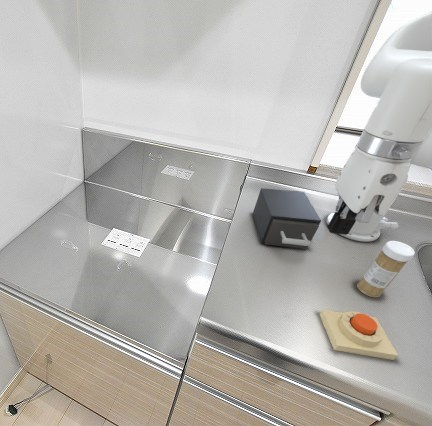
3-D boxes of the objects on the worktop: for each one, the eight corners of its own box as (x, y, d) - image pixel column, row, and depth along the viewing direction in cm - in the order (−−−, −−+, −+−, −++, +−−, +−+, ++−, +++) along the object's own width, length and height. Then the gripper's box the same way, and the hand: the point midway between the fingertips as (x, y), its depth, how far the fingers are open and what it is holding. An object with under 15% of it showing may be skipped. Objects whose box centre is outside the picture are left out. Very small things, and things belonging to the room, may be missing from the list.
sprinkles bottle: (383, 292, 67) (419, 249, 59) (374, 301, 65) (410, 258, 57) (361, 279, 70) (392, 236, 62) (352, 288, 68) (382, 245, 60)
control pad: (372, 322, 61) (381, 312, 59) (393, 360, 54) (404, 350, 52) (319, 314, 62) (326, 304, 60) (333, 350, 56) (342, 340, 54)
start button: (367, 320, 58) (371, 315, 57) (376, 337, 55) (381, 331, 54) (347, 317, 58) (351, 312, 57) (355, 333, 55) (359, 328, 54)
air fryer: (307, 248, 78) (321, 220, 73) (260, 243, 80) (271, 215, 75) (292, 218, 89) (304, 191, 83) (252, 214, 91) (260, 188, 85)
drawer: (312, 260, 74) (325, 237, 69) (268, 255, 75) (277, 232, 71) (293, 220, 87) (303, 198, 82) (256, 216, 89) (263, 195, 84)
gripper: (444, 167, 41) (376, 260, 52) (389, 130, 53) (343, 212, 64) (383, 162, 42) (329, 254, 53) (342, 127, 54) (305, 208, 65)
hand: (337, 231), depth 58 cm, fingers closed
